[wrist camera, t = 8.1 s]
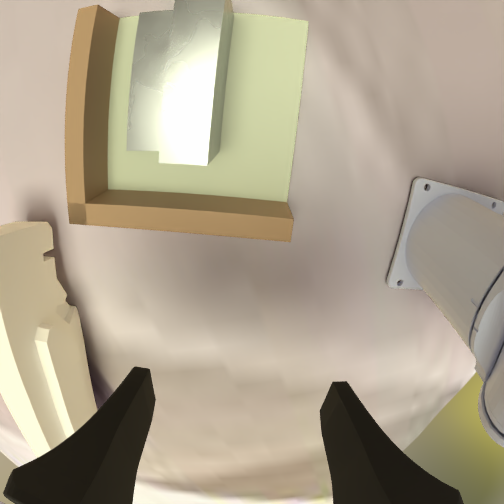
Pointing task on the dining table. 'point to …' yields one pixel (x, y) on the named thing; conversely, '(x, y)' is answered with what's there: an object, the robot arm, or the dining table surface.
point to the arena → (184, 175)
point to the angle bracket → (180, 81)
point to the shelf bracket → (40, 341)
